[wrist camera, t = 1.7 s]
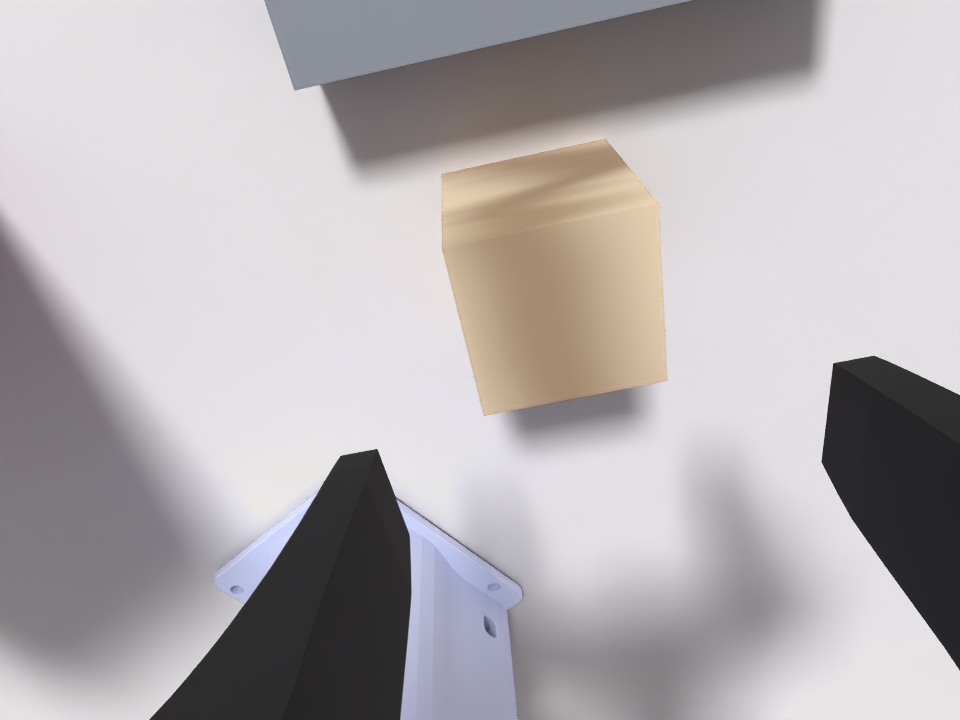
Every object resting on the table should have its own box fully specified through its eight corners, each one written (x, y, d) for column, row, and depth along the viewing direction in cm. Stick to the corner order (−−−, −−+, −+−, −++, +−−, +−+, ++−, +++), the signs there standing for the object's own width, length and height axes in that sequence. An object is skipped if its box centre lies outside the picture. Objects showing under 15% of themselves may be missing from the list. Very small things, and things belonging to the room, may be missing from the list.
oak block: (604, 138, 17) (658, 203, 13) (618, 285, 19) (667, 380, 15) (441, 173, 17) (441, 248, 13) (474, 314, 20) (483, 415, 16)
